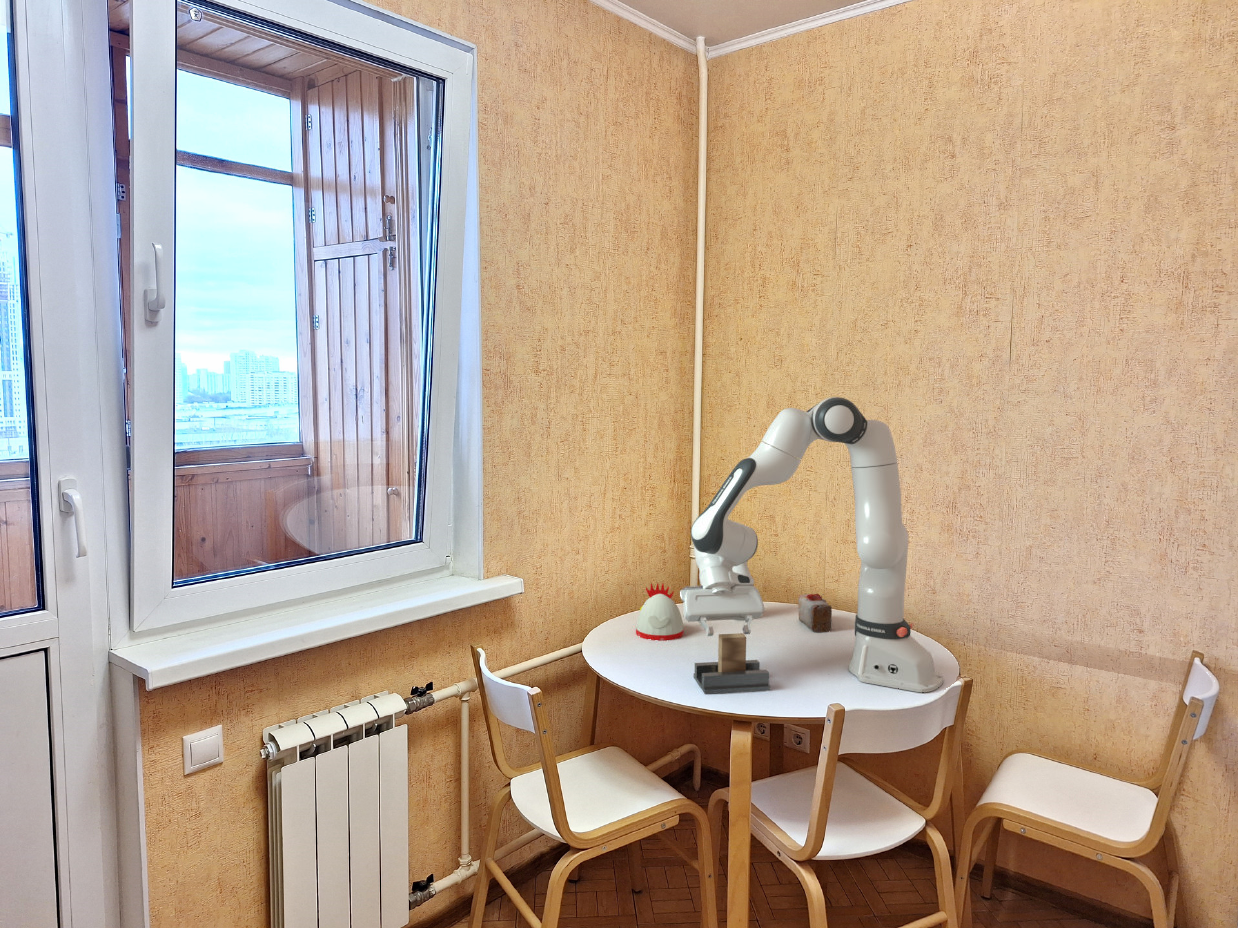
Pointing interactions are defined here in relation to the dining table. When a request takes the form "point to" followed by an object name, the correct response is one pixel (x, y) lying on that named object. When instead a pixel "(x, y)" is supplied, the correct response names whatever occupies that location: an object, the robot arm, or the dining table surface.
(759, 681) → the door track
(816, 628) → the food item
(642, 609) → the kitchen timer
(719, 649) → the wooden block
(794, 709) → the dining table surface
